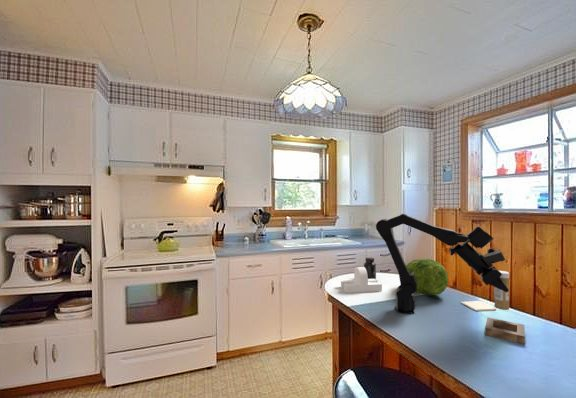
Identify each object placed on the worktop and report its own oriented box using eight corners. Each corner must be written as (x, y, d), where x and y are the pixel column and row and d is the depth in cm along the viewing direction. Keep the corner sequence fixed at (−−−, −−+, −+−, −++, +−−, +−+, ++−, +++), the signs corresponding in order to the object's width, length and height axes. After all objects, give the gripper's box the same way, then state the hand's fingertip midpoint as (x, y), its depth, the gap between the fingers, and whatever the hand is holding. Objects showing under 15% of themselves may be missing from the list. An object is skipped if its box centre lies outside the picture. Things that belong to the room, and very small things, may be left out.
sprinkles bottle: (512, 310, 104) (512, 273, 104) (498, 310, 105) (499, 273, 105) (503, 305, 109) (504, 270, 109) (491, 305, 109) (491, 269, 109)
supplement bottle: (376, 280, 164) (376, 259, 164) (364, 280, 165) (364, 259, 165) (375, 277, 171) (375, 257, 170) (363, 276, 172) (363, 256, 172)
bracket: (345, 293, 144) (345, 270, 144) (340, 287, 154) (340, 265, 154) (382, 291, 146) (382, 269, 146) (375, 285, 156) (375, 264, 156)
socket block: (485, 334, 99) (485, 327, 99) (487, 323, 108) (487, 317, 108) (525, 344, 93) (525, 336, 93) (524, 331, 101) (524, 324, 101)
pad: (475, 311, 120) (475, 309, 120) (460, 303, 129) (460, 301, 129) (496, 310, 120) (496, 308, 120) (479, 302, 129) (479, 300, 129)
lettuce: (422, 285, 156) (413, 253, 158) (460, 291, 134) (449, 255, 136) (396, 295, 150) (387, 263, 152) (432, 303, 128) (421, 265, 130)
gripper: (494, 246, 100) (534, 282, 95) (484, 239, 117) (518, 269, 112) (467, 267, 103) (505, 302, 99) (461, 257, 120) (493, 287, 116)
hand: (506, 289), depth 106 cm, fingers closed on sprinkles bottle, 4 cm apart
